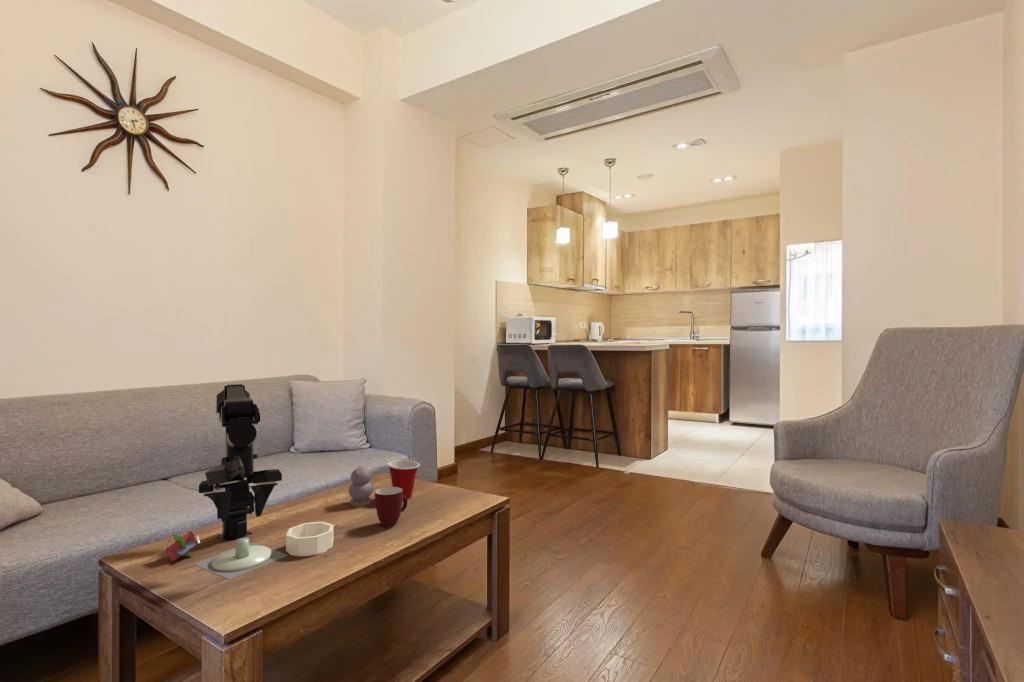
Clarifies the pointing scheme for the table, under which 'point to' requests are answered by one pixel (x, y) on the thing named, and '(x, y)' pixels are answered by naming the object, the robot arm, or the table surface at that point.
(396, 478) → the plastic cup
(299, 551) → the bowl
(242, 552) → the lid
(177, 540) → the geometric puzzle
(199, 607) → the table surface
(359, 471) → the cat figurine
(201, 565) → the mat
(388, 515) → the mug
